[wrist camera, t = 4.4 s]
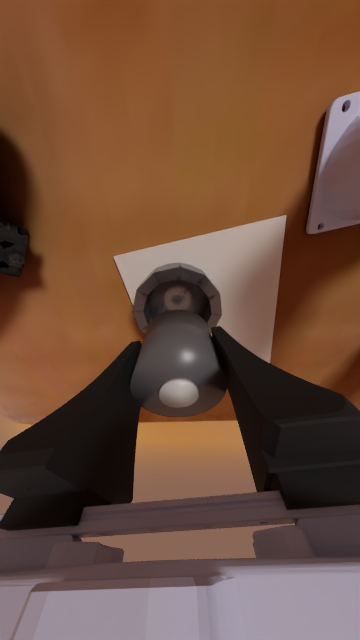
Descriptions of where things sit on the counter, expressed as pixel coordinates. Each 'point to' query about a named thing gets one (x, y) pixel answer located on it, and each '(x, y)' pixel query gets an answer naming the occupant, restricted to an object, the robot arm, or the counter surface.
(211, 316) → the grey bowl
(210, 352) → the cap
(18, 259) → the night vision scope
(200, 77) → the counter surface
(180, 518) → the robot arm
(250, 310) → the mat
